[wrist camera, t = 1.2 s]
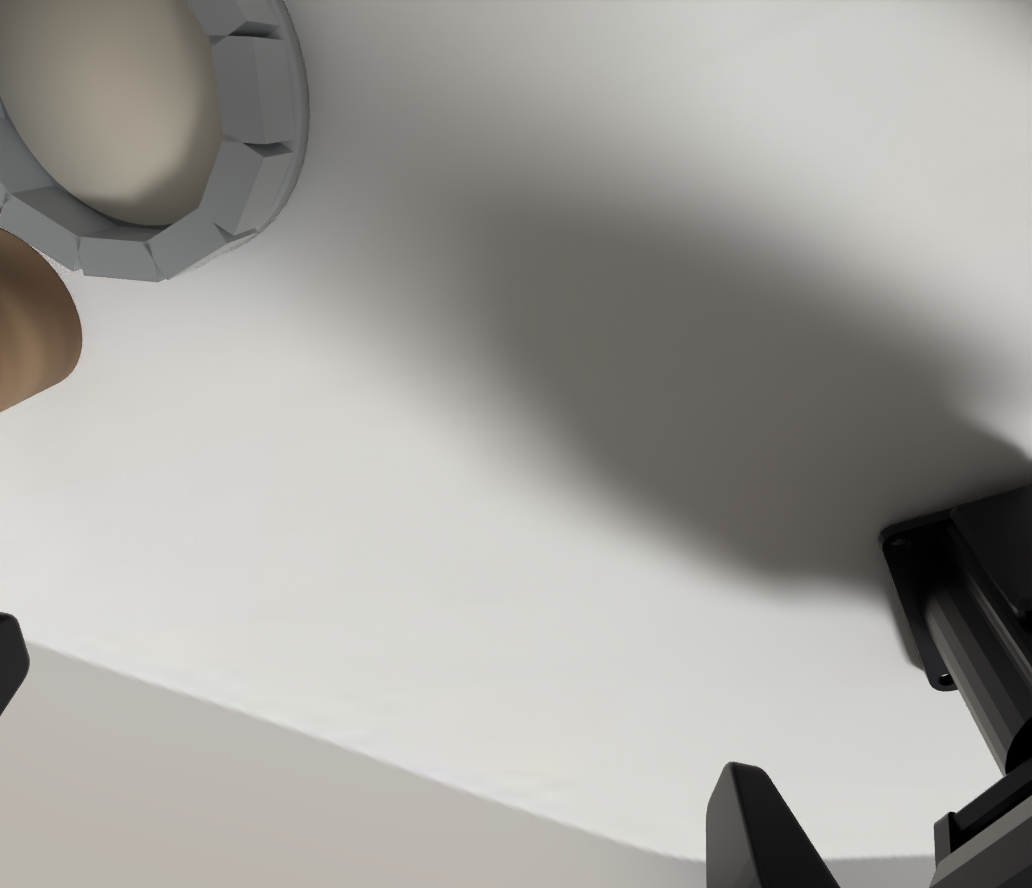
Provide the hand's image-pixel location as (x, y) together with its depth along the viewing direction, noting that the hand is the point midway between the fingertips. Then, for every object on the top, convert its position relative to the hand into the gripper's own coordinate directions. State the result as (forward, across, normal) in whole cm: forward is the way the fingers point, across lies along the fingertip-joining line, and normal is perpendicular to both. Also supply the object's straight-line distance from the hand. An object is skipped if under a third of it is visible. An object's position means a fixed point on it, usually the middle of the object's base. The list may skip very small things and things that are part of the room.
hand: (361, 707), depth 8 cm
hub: (+13, +10, -5) cm, 18 cm away
